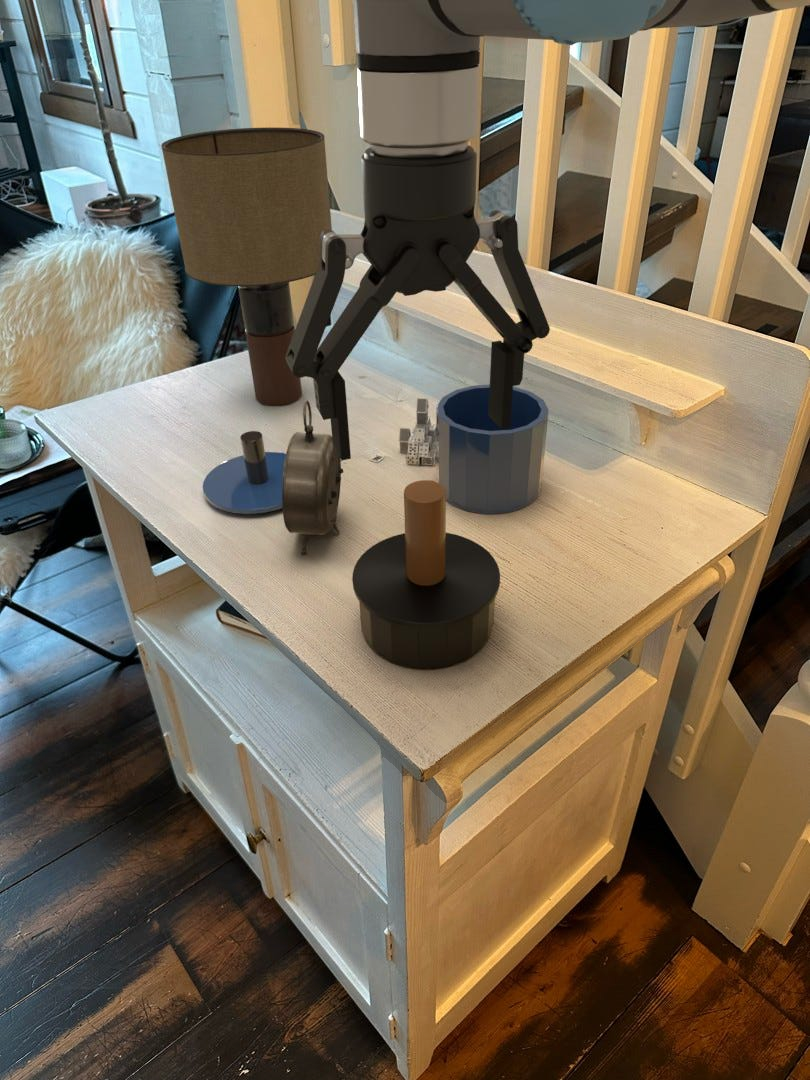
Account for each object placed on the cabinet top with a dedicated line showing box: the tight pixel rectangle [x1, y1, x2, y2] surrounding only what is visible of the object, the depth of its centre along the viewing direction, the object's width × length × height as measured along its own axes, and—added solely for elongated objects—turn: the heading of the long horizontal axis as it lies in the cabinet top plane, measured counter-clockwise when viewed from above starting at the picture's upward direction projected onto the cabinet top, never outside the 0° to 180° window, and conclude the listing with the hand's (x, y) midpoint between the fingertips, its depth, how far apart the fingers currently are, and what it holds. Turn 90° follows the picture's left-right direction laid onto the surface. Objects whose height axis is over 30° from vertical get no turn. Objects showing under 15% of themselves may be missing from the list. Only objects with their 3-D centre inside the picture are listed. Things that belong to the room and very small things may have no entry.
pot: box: [435, 384, 549, 515], centre depth 90 cm, size 13×13×10 cm
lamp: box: [160, 127, 333, 407], centre depth 105 cm, size 20×20×35 cm
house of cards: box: [369, 397, 437, 467], centre depth 99 cm, size 9×9×8 cm
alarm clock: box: [281, 399, 344, 556], centre depth 81 cm, size 11×5×16 cm, turn 174°
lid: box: [351, 479, 501, 629], centre depth 67 cm, size 14×14×10 cm
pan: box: [358, 598, 496, 671], centre depth 72 cm, size 13×13×6 cm
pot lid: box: [202, 430, 286, 515], centre depth 92 cm, size 14×14×7 cm
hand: (422, 436), depth 61 cm, fingers open, 13 cm apart
